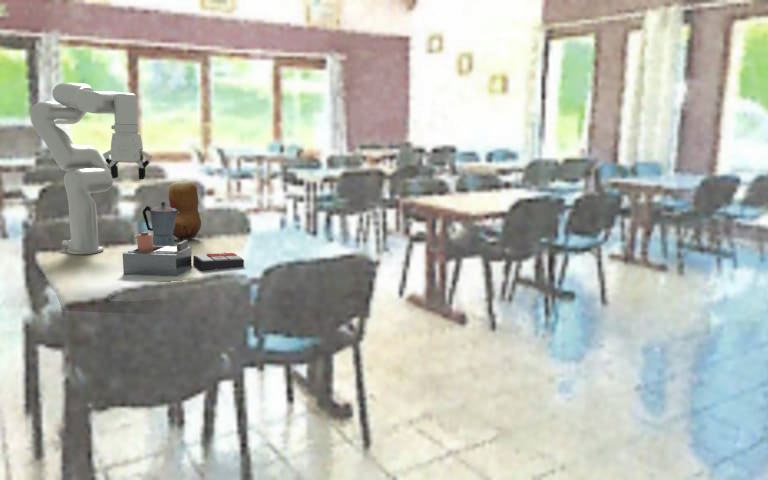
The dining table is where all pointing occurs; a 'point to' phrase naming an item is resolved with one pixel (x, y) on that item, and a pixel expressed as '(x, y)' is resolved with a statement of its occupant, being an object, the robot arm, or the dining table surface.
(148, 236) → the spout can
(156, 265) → the grey metal box
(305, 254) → the dining table surface
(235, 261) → the calculator
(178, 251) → the guard cover
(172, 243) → the moka pot
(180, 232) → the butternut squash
